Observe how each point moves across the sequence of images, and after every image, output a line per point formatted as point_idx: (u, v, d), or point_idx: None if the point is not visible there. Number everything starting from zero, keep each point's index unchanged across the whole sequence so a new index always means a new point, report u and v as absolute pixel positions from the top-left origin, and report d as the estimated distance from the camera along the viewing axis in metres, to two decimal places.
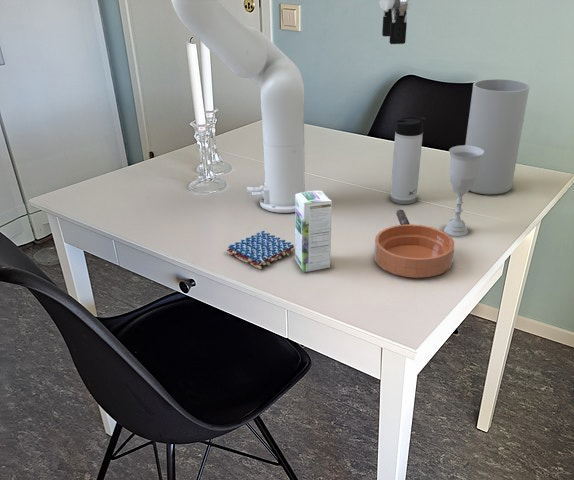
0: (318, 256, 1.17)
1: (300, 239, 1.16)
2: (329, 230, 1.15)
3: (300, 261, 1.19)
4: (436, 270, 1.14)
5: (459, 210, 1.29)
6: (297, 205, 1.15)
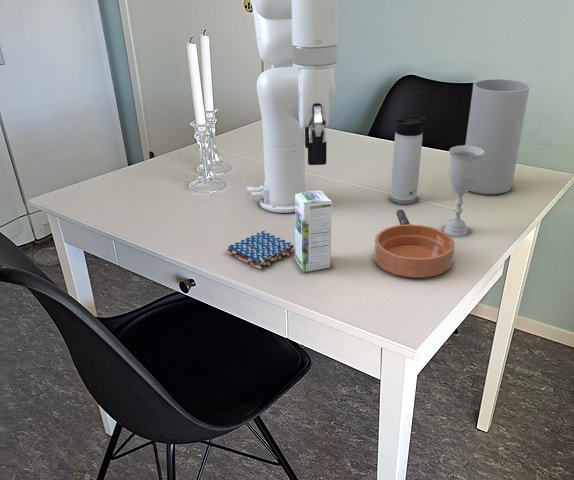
0: (318, 256, 1.17)
1: (300, 239, 1.16)
2: (329, 230, 1.15)
3: (300, 261, 1.19)
4: (436, 270, 1.14)
5: (459, 210, 1.29)
6: (297, 205, 1.15)
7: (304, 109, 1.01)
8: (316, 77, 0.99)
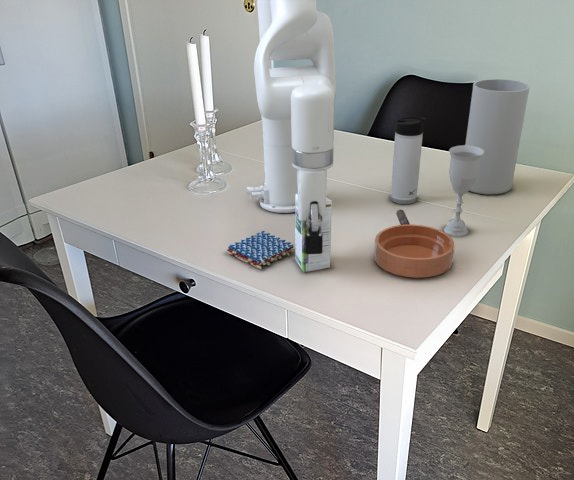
0: (318, 256, 1.17)
1: (300, 239, 1.16)
2: (329, 230, 1.15)
3: (300, 261, 1.19)
4: (436, 270, 1.14)
5: (459, 210, 1.29)
6: (297, 205, 1.15)
7: (302, 206, 1.09)
8: (313, 178, 1.07)
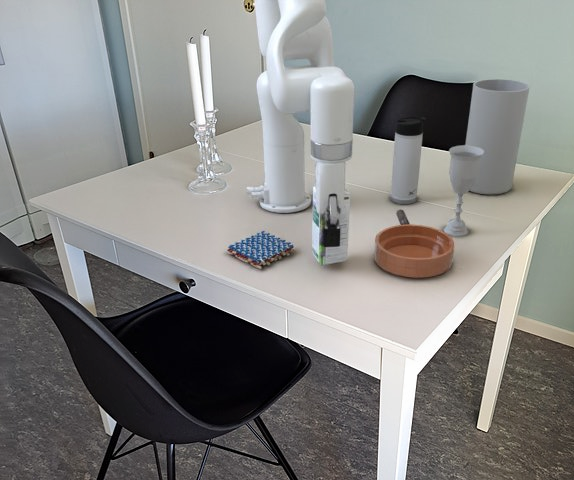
0: (336, 249, 1.17)
1: (317, 232, 1.16)
2: (347, 223, 1.15)
3: (317, 254, 1.19)
4: (436, 270, 1.14)
5: (459, 210, 1.29)
6: (315, 198, 1.14)
7: (321, 198, 1.09)
8: (332, 170, 1.06)
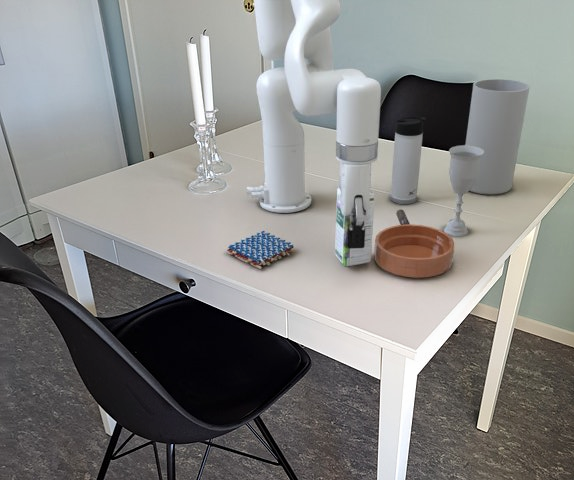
0: (360, 250, 1.17)
1: (341, 233, 1.16)
2: (371, 224, 1.15)
3: (340, 255, 1.19)
4: (436, 270, 1.14)
5: (459, 210, 1.29)
6: (339, 199, 1.14)
7: (346, 200, 1.09)
8: (359, 172, 1.07)
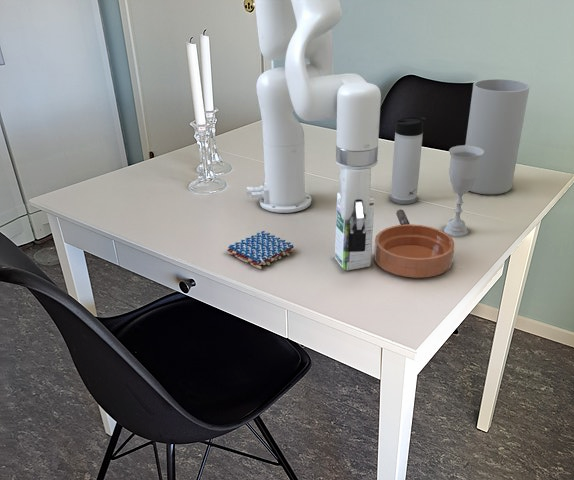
0: (359, 254, 1.17)
1: (341, 238, 1.16)
2: (371, 229, 1.15)
3: (340, 260, 1.19)
4: (436, 270, 1.14)
5: (459, 210, 1.29)
6: (339, 204, 1.15)
7: (346, 204, 1.09)
8: (359, 177, 1.07)
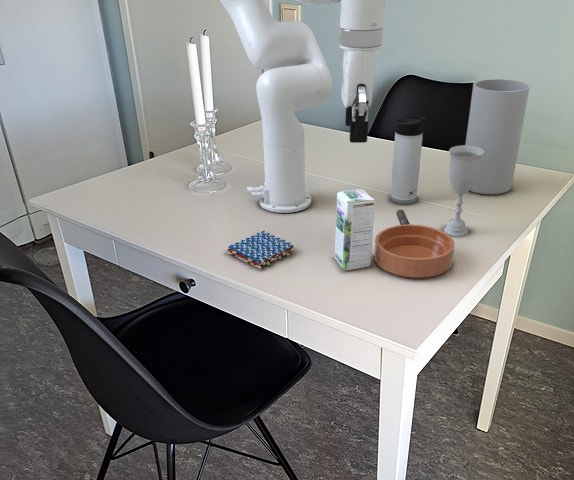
0: (359, 254, 1.17)
1: (341, 238, 1.16)
2: (371, 229, 1.15)
3: (340, 260, 1.19)
4: (436, 270, 1.14)
5: (459, 210, 1.29)
6: (339, 204, 1.15)
7: (349, 89, 1.07)
8: (362, 58, 1.04)
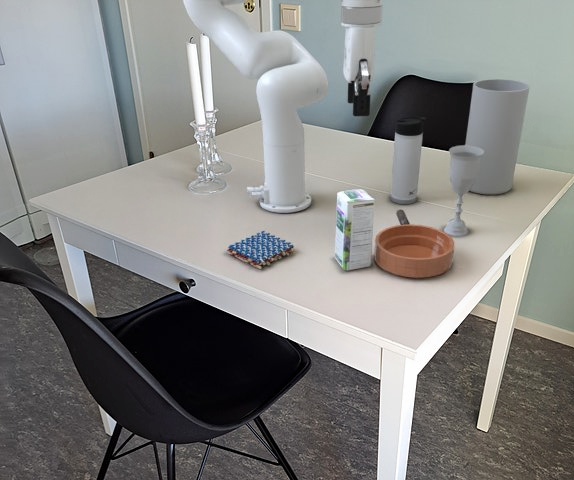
0: (359, 254, 1.17)
1: (341, 238, 1.16)
2: (371, 229, 1.15)
3: (340, 260, 1.19)
4: (436, 270, 1.14)
5: (459, 210, 1.29)
6: (339, 204, 1.15)
7: (351, 64, 1.12)
8: (363, 34, 1.10)
